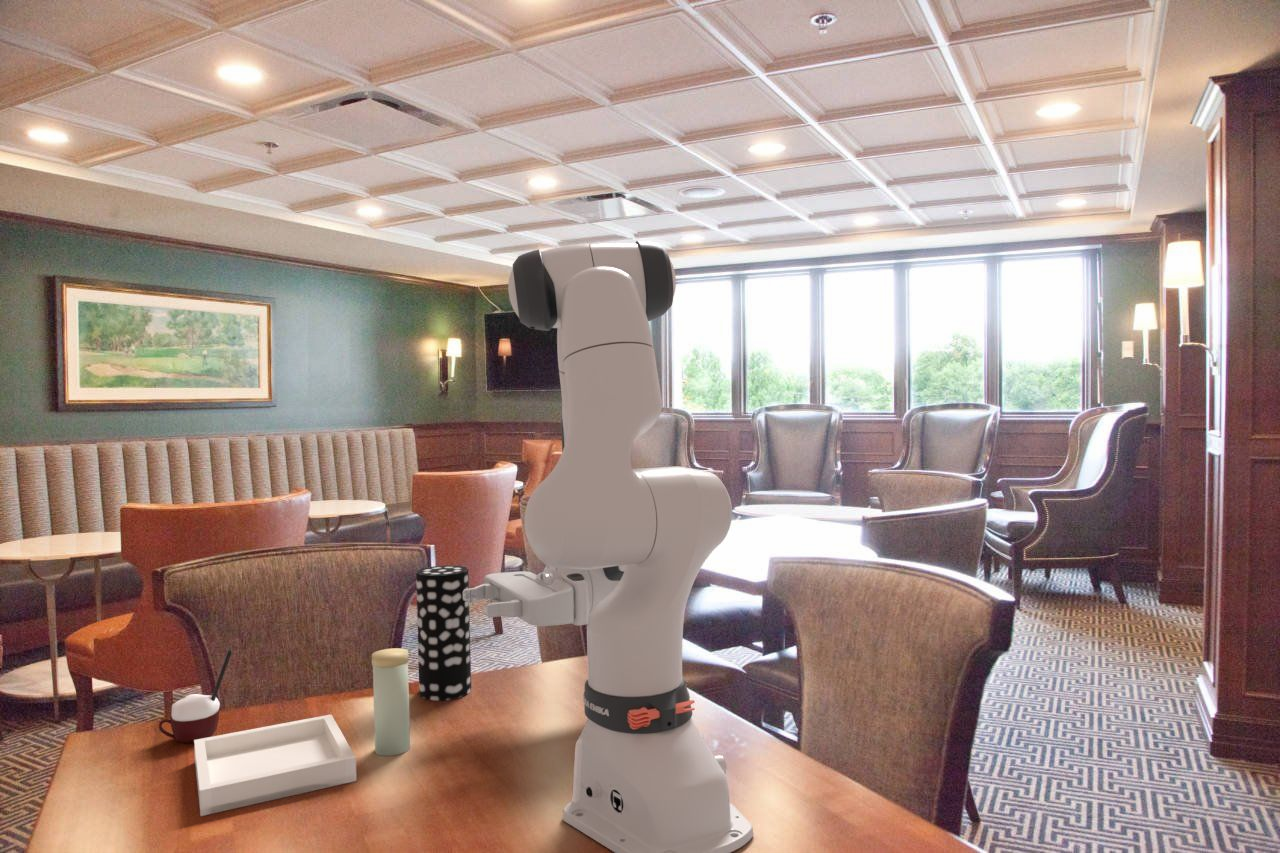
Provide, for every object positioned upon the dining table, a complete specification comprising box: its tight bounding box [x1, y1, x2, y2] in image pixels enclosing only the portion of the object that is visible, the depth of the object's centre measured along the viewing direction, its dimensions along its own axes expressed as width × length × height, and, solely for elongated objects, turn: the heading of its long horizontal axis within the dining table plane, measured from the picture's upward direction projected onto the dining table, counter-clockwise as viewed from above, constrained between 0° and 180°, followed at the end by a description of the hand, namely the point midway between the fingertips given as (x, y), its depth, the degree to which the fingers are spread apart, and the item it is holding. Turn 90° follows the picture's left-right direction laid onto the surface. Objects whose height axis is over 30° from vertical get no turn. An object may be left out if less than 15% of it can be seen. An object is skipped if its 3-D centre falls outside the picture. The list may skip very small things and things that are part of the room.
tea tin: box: [371, 647, 411, 757], centre depth 116 cm, size 5×5×13 cm
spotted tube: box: [415, 565, 472, 702], centre depth 139 cm, size 8×8×20 cm
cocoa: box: [158, 648, 233, 744], centre depth 122 cm, size 10×6×12 cm, turn 92°
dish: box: [193, 713, 357, 817], centre depth 110 cm, size 17×17×3 cm
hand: (474, 603), depth 122 cm, fingers open, 8 cm apart
